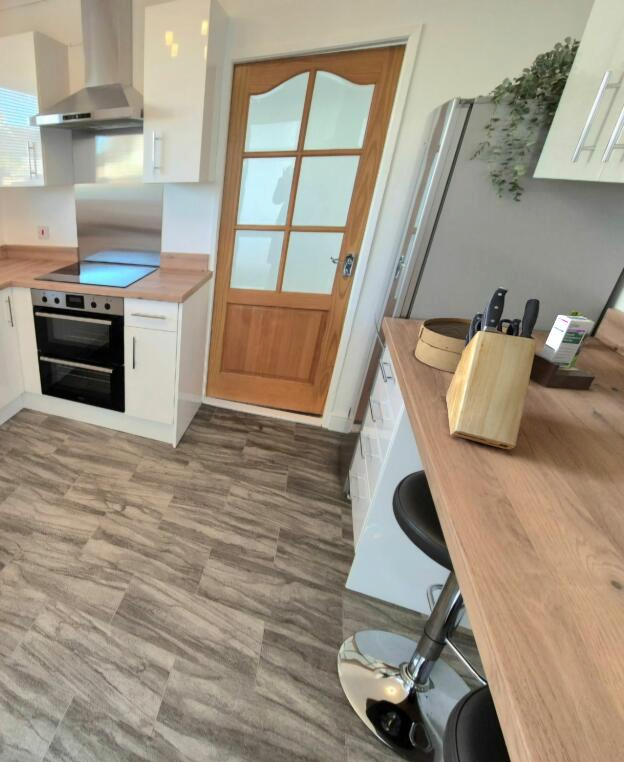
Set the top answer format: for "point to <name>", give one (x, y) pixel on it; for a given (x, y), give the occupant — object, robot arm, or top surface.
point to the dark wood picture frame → (558, 374)
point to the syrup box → (567, 339)
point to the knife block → (493, 375)
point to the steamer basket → (443, 342)
